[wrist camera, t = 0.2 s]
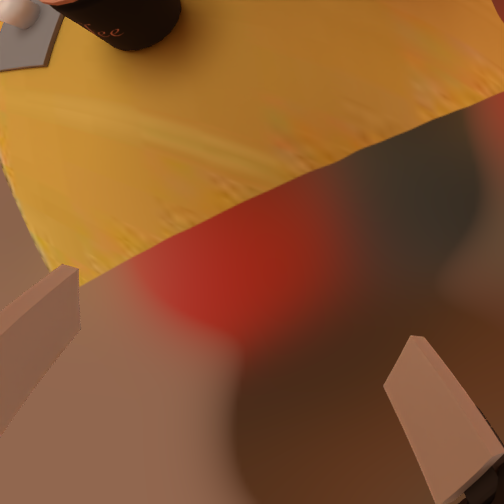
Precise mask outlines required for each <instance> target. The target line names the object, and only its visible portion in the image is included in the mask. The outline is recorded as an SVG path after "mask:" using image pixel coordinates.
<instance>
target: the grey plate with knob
mask: <svg viewBox="0 0 504 504" xmlns="http://www.w3.org/2000/svg"><path fill="white" fill-rule="evenodd" d="M63 18H64V15H62V14H61V13H59V12H57V11H56V10H55V9H53V8H52V7H51V6H50V5H49V4H44V3H42V2H41V1H39V0H0V21H2V22H4V23H3V26H2V29H1V31H0V72H2V71H8V70H16V69H24V68H33V67H44V66H48V63H49V59H50V56H51V53H52V49H53V46H54V43H55V40H56V37H57V34H58V31H59V29H60V26H61V23H62V20H63Z"/></svg>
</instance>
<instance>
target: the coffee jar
mask: <svg viewBox="0 0 504 504" xmlns="http://www.w3.org/2000/svg"><path fill="white" fill-rule="evenodd" d="M39 1H41V2H42V3H44V4H49V5H50V6H51V7H52V8H53V9H55V10H56V11H57V12H59V13H61V14H62V15H64V16H66V17H67V18H69V19H71V20H72V21H74V22H76V23H77V24H79V25H80V26H82V27H84V28H85V29H87V30H88V31H90V32H92V33H93V34H95V35H96V36H98V37H99V38H101V39H102V40H104V41H106V42H107V43H109V44H110V45H112V46H113V47H115V48H118V49H121V50H124V51H129V50H140V49H143V48H147V47H150V46H152V45H153V44H155V43H157V42H159V41H161V40H162V39H163V38H164V37H165V36H166V35H167V34H169V33H170V32H171V30H172V29H173V27H174V26H175V24H176V23H177V21H178V19H179V15H180V12H181V3H180V0H39Z"/></svg>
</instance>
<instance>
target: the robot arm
mask: <svg viewBox="0 0 504 504" xmlns="http://www.w3.org/2000/svg"><path fill="white" fill-rule="evenodd" d="M80 330H81V326H80V308H79V269H78V268H74V267H71V266H67V265H64V264H62V265H61V266H59V267H58V268H56V269H55V270H54V271H52V272H51V273H49V274H48V275H47V276H45V277H44V278H43V279H41V280H40V281H39V282H37V283H36V284H35V285H33V286H32V287H31V288H30V289H28V290H27V291H26V292H24V293H23V294H21V295H20V296H19V297H18V298H16V299H15V300H14V301H12V302H11V303H10V304H9V305H7V306H6V307H5V308H4V309H3V310H1V311H0V437H1V435H2V434H3V433H4V431H5V430H6V428H7V427H8V425H9V424H10V422H11V421H12V419H13V418H14V416H15V415H16V414H17V412H18V411H19V409H20V408H21V406H22V405H23V404H24V402H25V401H26V400H27V398H28V397H29V395H30V394H31V393H32V391H33V390H34V388H35V387H36V386H37V384H38V383H39V382H40V380H41V379H42V378H43V377H44V375H45V374H46V373H47V371H48V370H49V368H50V367H51V366H52V364H53V363H54V362H55V361H56V360H57V358H58V357H59V356H60V354H61V353H62V352H63V351H64V350H65V348H66V347H67V346H68V345H69V343H70V342H71V341H72V340H73V338H74V337H75V336H76V335H77V333H78V332H79V331H80ZM383 387H384V389H385V391H386V393H387V395H388V397H389V399H390V401H391V403H392V406H393V408H394V409H395V412H396V414H397V416H398V418H399V421H400V423H401V425H402V427H403V429H404V431H405V434H406V436H407V438H408V440H409V443H410V445H411V447H412V449H413V452H414V454H415V456H416V458H417V461H418V463H419V465H420V467H421V470H422V472H423V475H424V477H425V479H426V482H427V484H428V487H429V489H430V492H431V494H432V497H433V499H434V502H435V504H448V503H451V502H453V501H454V500H455V499H457V498H458V497H459V496H460V495H461V494H462V493H465V495H466V498H465V499H463V500H462V501H461V502H460V503H458V504H504V445H503V443H502V442H501V440H500V439H499V437H498V436H497V434H496V433H495V431H494V430H493V428H492V427H490V426H491V425H490V423H489V422H488V421H487V420H485V419H486V418H485V416H484V415H483V413H482V412H481V411H480V409H479V408H478V407H477V406H476V405H475V404H474V403H473V402H472V400H471V399H470V397H469V396H468V395H467V393H466V392H465V390H464V389H463V388H462V386H461V385H460V383H459V382H458V381H457V379H456V378H455V377H454V375H453V374H452V373H451V371H450V370H449V369H448V367H447V366H446V365H445V363H444V362H443V361H442V359H441V358H440V357H439V356H438V354H437V353H436V352H435V350H434V349H433V348H432V347H431V345H430V344H429V343H428V341H427V340H426V339H425V338H424V337H420V336H412V335H411V336H410V337H409V339H408V341H407V343H406V345H405V347H404V349H403V351H402V353H401V355H400V356H399V358H398V360H397V362H396V364H395V366H394V368H393V370H392V371H391V373H390V375H389V376H388V378H387V380H386V382H385V383H384V385H383Z"/></svg>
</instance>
